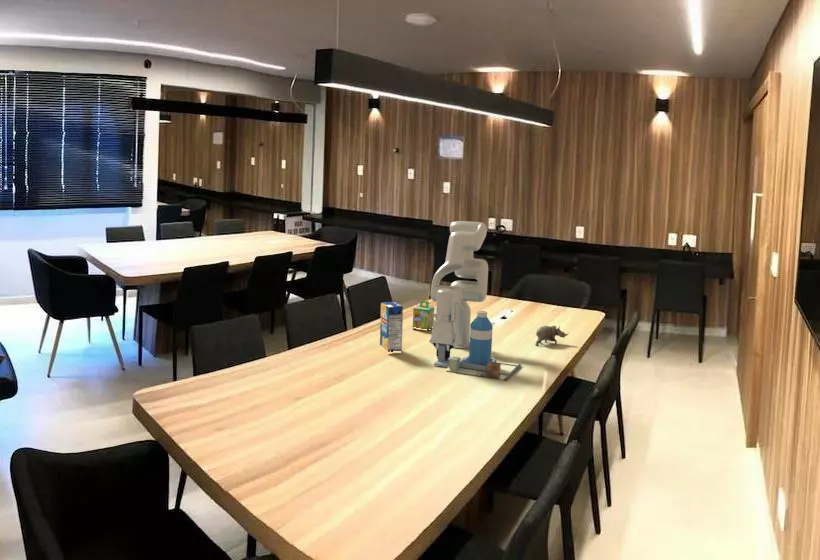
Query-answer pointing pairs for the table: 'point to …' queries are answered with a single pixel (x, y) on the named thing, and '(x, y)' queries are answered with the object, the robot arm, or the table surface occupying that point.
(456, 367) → the strip
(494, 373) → the walnut cube
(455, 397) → the table surface
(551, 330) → the rhinoceros figurine
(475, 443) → the table surface
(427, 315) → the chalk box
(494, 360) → the pale blue tray
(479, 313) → the water bottle
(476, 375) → the lane rails
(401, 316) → the beverage box
